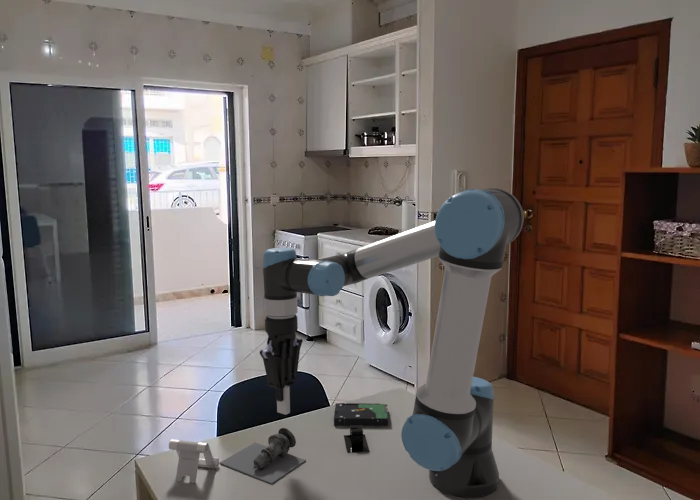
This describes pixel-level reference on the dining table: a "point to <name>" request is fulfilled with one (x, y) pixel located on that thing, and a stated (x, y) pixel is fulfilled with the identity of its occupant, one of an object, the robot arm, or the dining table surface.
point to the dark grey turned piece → (275, 448)
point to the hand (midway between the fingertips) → (283, 412)
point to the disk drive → (361, 414)
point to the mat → (271, 471)
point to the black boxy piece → (356, 440)
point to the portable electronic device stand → (192, 458)
